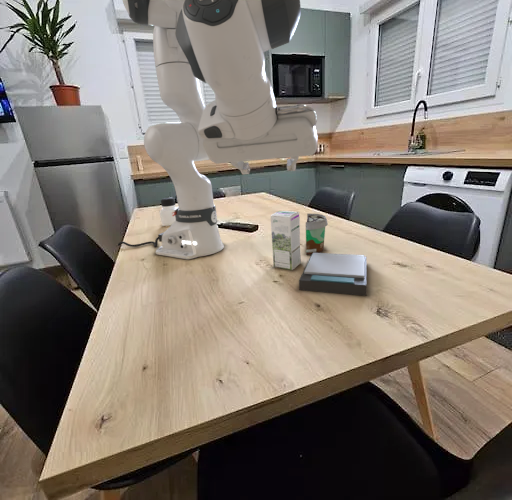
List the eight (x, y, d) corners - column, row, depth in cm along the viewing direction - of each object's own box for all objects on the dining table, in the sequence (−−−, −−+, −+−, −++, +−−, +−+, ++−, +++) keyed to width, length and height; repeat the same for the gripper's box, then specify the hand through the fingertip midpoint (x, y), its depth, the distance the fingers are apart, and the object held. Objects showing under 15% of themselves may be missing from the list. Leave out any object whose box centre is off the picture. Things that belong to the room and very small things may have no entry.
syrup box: (301, 263, 81) (300, 210, 76) (292, 271, 76) (290, 216, 71) (282, 260, 84) (280, 209, 79) (272, 267, 79) (269, 214, 74)
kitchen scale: (299, 290, 66) (299, 277, 65) (311, 262, 81) (311, 251, 80) (366, 295, 61) (366, 282, 60) (366, 265, 76) (366, 254, 75)
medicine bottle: (177, 225, 134) (172, 198, 131) (161, 226, 135) (157, 200, 131) (181, 221, 141) (177, 196, 137) (166, 222, 141) (162, 197, 138)
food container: (328, 256, 84) (328, 222, 81) (306, 256, 85) (305, 222, 82) (327, 243, 95) (327, 212, 92) (307, 243, 97) (307, 213, 94)
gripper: (315, 88, 46) (322, 153, 58) (197, 107, 52) (225, 162, 64) (313, 117, 43) (320, 179, 55) (189, 133, 49) (219, 185, 61)
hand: (268, 170), depth 59 cm, fingers open, 8 cm apart
